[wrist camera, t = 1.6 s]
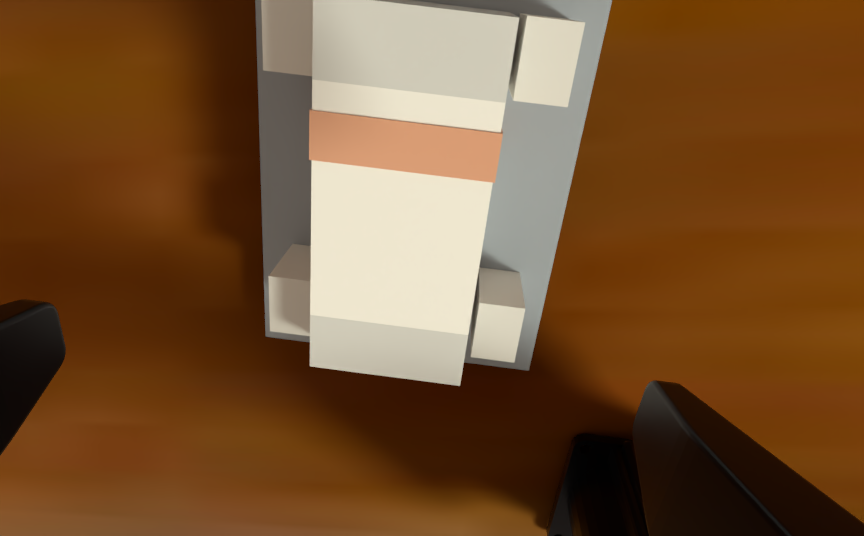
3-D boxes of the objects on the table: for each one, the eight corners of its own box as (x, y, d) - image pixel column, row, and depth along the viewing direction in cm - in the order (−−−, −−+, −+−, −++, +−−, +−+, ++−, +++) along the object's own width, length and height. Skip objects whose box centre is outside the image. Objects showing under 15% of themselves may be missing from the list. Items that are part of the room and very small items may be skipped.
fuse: (464, 315, 20) (461, 387, 16) (338, 299, 20) (307, 367, 17) (511, 12, 16) (521, 18, 12) (348, -8, 16) (310, -8, 12)
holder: (525, 348, 22) (535, 415, 19) (278, 316, 22) (240, 376, 19) (612, -54, 16) (652, -69, 12) (270, -94, 16) (212, -120, 13)
